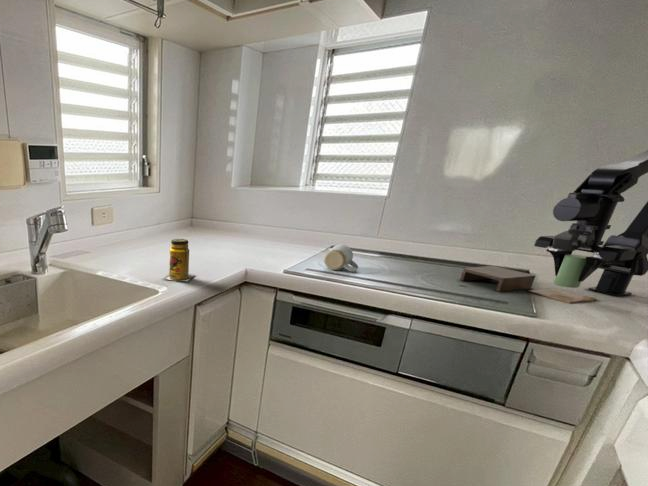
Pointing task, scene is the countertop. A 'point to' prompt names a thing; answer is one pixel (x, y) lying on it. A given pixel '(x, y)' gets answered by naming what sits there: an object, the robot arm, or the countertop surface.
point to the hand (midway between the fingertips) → (568, 278)
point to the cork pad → (562, 295)
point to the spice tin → (570, 271)
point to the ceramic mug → (340, 258)
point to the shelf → (499, 277)
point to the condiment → (179, 261)
